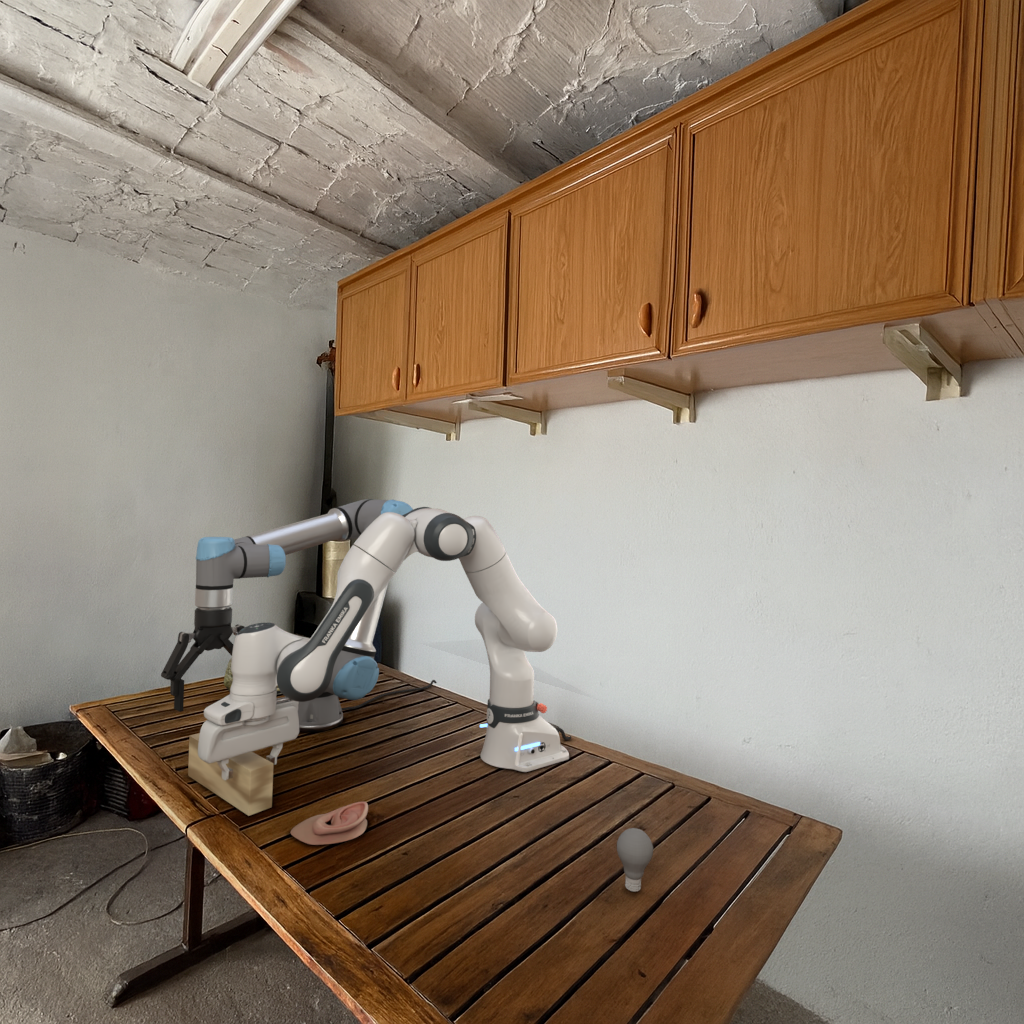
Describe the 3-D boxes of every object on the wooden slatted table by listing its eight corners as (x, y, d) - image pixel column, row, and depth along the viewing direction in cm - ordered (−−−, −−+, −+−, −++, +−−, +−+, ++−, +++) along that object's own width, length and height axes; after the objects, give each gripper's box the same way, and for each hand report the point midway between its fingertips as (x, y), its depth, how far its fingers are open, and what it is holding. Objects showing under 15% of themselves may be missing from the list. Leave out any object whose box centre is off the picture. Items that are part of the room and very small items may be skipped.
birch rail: (210, 768, 145) (211, 729, 145) (272, 807, 128) (273, 763, 128) (187, 775, 141) (189, 735, 141) (248, 816, 125) (250, 770, 124)
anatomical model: (282, 818, 116) (314, 791, 127) (281, 840, 116) (313, 810, 127) (349, 829, 113) (375, 800, 125) (348, 851, 113) (374, 820, 125)
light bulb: (610, 878, 109) (613, 821, 108) (645, 878, 109) (647, 821, 109) (619, 901, 103) (622, 840, 103) (655, 900, 103) (658, 839, 103)
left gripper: (257, 599, 152) (254, 687, 152) (145, 610, 132) (142, 711, 133) (274, 603, 147) (271, 694, 147) (161, 616, 127) (157, 720, 128)
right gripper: (290, 690, 139) (287, 753, 139) (195, 711, 123) (192, 781, 123) (307, 696, 135) (303, 761, 135) (211, 719, 119) (207, 792, 119)
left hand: (210, 702), depth 140 cm, fingers open, 13 cm apart
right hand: (249, 771), depth 129 cm, fingers open, 8 cm apart
